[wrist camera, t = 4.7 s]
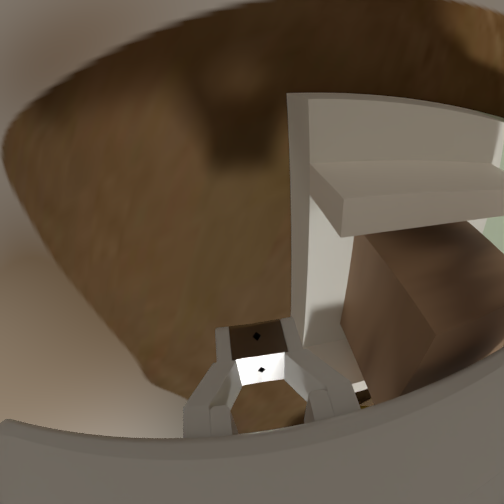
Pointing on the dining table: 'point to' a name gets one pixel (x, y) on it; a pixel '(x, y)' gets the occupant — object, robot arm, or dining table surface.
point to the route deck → (378, 192)
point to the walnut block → (422, 305)
